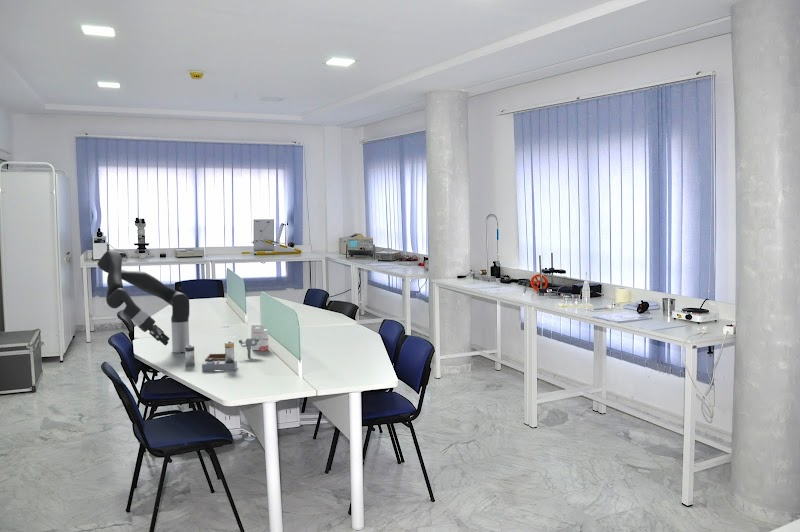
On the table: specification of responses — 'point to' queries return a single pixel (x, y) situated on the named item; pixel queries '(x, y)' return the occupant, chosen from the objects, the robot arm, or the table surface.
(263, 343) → the ink cartridge box
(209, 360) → the plunger
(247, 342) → the mechanical component
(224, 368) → the tester
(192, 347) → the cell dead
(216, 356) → the bin
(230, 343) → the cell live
